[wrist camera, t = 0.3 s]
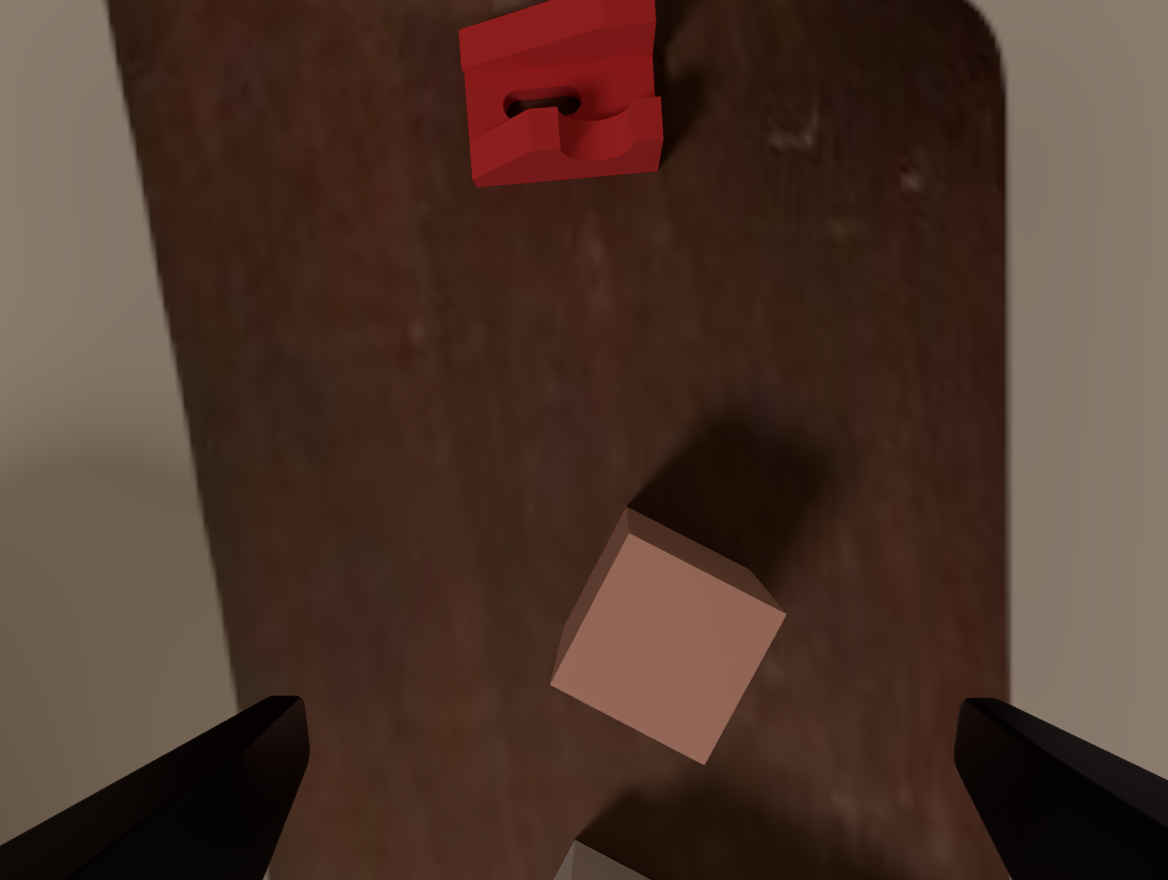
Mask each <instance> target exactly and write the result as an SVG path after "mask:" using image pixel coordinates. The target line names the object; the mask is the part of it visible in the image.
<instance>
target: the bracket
mask: <svg viewBox="0 0 1168 880" xmlns="http://www.w3.org/2000/svg"><path fill="white" fill-rule="evenodd" d="M655 27H656V14H655V0H550V1H547V2H544V3H541V4H538V5H535V6H532V7H529V8H525V9H522V10H519V11H516V12H513V13H510V14H507V15H504V16H501V17H498V18H495V19H492V20H489V21H485V22H482V23H479V24H476V25H473V26H470V27H467V28H464V29H461V30H459V38H460V51H461V64H462V71H463V73H464V75H465V87H466V100H467V112H468V125H469V138H470V151H471V164H472V177H473V181H474V183H475V184H476V186H477V187H486V186H497V185H508V184H519V183H530V182H541V181H552V180H564V179H575V178H586V177H597V176H608V175H619V174H630V173H641V172H652V171H658V167H659V161H660V156H661V150H662V144H663V124H662V108H661V96H660V97H655V89H654V73H653V58H652V56H653V46H654V36H655ZM563 96H573V97H575V98H577V99H578V100H579V101H580V102H581V106H580V108H579V109H578V110H577V111H576V112H575V113H574V114H571V115H565V116H564V115H562V114H561V113H560V112H559V110H558V108H557V107H546V108H536V109H527V110H526V111H524V112H522V113H520V114H519V115H517V116H515V117H513V118H509V117H508V116H507V110H508V108H509V106H510V105H511V104H512V103H514V102H516V101H522V100H532V99H543V98H553V97H563Z"/></svg>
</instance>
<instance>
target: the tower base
mask: <svg viewBox="0 0 1168 880" xmlns="http://www.w3.org/2000/svg"><path fill="white" fill-rule="evenodd" d="M554 880H650V879H648V878H647V877H645V876H643V875H641V874H639V873H637V872H635V871H633V870H631V869H629V868H628V867H626V866H624V865H622V864H620V863H618V862H616V861H614V860H612V859H611V858H609V857H607V856H605V855H603V854H601V853H599V852H597V851H595V850H593V849H592V848H590V847H588V846H586V845H584V844H582V843H580V842H578V841H576V840H574V842H573V844H572V846H571V848H570V850H569V852H568V853H567V855H566V857H565V859H564V861H563V863H562V865H561V866H560V868H559V870H558V872H557V874H556V876H555V878H554Z"/></svg>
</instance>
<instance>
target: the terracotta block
mask: <svg viewBox="0 0 1168 880" xmlns="http://www.w3.org/2000/svg"><path fill="white" fill-rule="evenodd" d="M786 615H787V614H786V613H785V612H784V610H783V609H782V608H781V607H780V606H779V604H778V603H777V602H776V601H775V599H774V598H773V597H772V596H771V595H770V593H769V592H768V591H767V590H766V589H765V587H764V586H763V585H762V584H761V583H760V581H759V580H758V579H757V578H756V576H755V575H754V574H753V573H752V572H751V570H749V569H747V568H745V567H743V566H741V565H739V564H738V563H736V562H734V561H732V560H730V559H728V558H726V557H724V556H722V555H720V554H718V553H716V552H714V551H712V550H710V549H708V548H706V547H704V546H702V545H701V544H699V543H697V542H695V541H693V540H691V539H689V538H687V537H685V536H683V535H681V534H679V533H677V532H675V531H673V530H671V529H669V528H667V527H665V526H663V525H662V524H660V523H658V522H656V521H654V520H652V519H650V518H648V517H646V516H644V515H642V514H640V513H638V512H636V511H634V510H632V509H630V508H628V507H626V508H625V510H624V512H623V514H622V516H621V518H620V520H619V522H618V524H617V526H616V527H615V529H614V531H613V533H612V535H611V537H610V539H609V541H608V543H607V545H606V547H605V549H604V551H603V553H602V554H601V556H600V558H599V560H598V562H597V564H596V566H595V568H594V570H593V572H592V574H591V576H590V578H589V580H588V581H587V583H586V585H585V587H584V589H583V591H582V593H581V595H580V597H579V599H578V601H577V603H576V605H575V606H574V608H573V610H572V612H571V614H570V616H569V618H568V620H567V622H566V624H565V626H564V629H563V633H562V637H561V642H560V646H559V650H558V654H557V658H556V662H555V667H554V671H553V675H552V679H551V683H550V685H552V686H554V687H556V688H557V689H559V690H561V691H563V692H565V693H567V694H569V695H571V696H573V697H575V698H577V699H578V700H580V701H582V702H584V703H586V704H588V705H590V706H592V707H594V708H596V709H598V710H600V711H601V712H603V713H605V714H607V715H609V716H611V717H613V718H615V719H617V720H619V721H621V722H623V723H624V724H626V725H628V726H630V727H632V728H634V729H636V730H638V731H640V732H642V733H644V734H646V735H647V736H649V737H651V738H653V739H655V740H657V741H659V742H661V743H663V744H665V745H667V746H668V747H670V748H672V749H674V750H676V751H678V752H680V753H682V754H684V755H686V756H688V757H690V758H691V759H693V760H695V761H697V762H699V763H701V764H703V765H705V763H706V761H707V759H708V758H709V756H710V754H711V752H712V750H713V748H714V747H715V745H716V743H717V741H718V739H719V737H720V736H721V734H722V732H723V730H724V728H725V726H726V725H727V723H728V721H729V719H730V717H731V715H732V714H733V712H734V710H735V708H736V706H737V704H738V703H739V701H740V699H741V697H742V695H743V693H744V692H745V690H746V688H747V686H748V684H749V682H750V681H751V679H752V677H753V675H754V673H755V671H756V670H757V668H758V666H759V664H760V662H761V660H762V659H763V657H764V655H765V653H766V651H767V649H768V648H769V646H770V644H771V642H772V640H773V638H774V637H775V635H776V633H777V631H778V629H779V627H780V626H781V624H782V622H783V620H784V618H785V616H786Z"/></svg>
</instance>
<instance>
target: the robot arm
mask: <svg viewBox="0 0 1168 880" xmlns="http://www.w3.org/2000/svg"><path fill="white" fill-rule="evenodd" d="M309 754H310V745H309V737H308V728H307V719H306V710H305V704H304V702H303V699H301V698H300V697H299V696H270V697H267V698H266V699H264V700H262V701H260V702H258V703H257V704H255V705H253V706H251V707H249V708H248V709H246V710H244V711H242V712H240V713H239V714H237V715H235V716H233V717H231V718H229V719H228V720H226V721H224V722H222V723H220V724H219V725H217V726H215V727H213V728H212V729H210V730H208V731H206V732H204V733H202V734H201V735H199V736H197V737H195V738H193V739H192V740H190V741H188V742H186V743H185V744H183V745H181V746H179V747H177V748H176V749H174V750H172V751H170V752H168V753H167V754H165V755H163V756H161V757H159V758H157V759H156V760H154V761H152V762H150V763H149V764H147V765H145V766H143V767H141V768H139V769H138V770H136V771H134V772H132V773H130V774H129V775H127V776H125V777H123V778H121V779H120V780H118V781H116V782H114V783H112V784H110V785H109V786H107V787H105V788H103V789H102V790H100V791H98V792H96V793H94V794H92V795H91V796H89V797H87V798H85V799H83V800H82V801H80V802H78V803H76V804H75V805H73V806H71V807H69V808H67V809H65V810H64V811H62V812H60V813H58V814H56V815H55V816H53V817H51V818H49V819H47V820H46V821H44V822H42V823H40V824H38V825H37V826H35V827H33V828H31V829H29V830H28V831H26V832H24V833H22V834H20V835H19V836H17V837H15V838H13V839H11V840H10V841H8V842H6V843H4V844H2V845H1V846H0V880H263V878H264V875H265V873H266V871H267V868H268V866H269V863H270V861H271V858H272V856H273V853H274V851H275V848H276V846H277V843H278V840H279V838H280V835H281V833H282V830H283V827H284V825H285V822H286V820H287V817H288V814H289V812H290V809H291V807H292V804H293V802H294V799H295V796H296V794H297V791H298V789H299V786H300V783H301V781H302V778H303V776H304V773H305V771H306V768H307V765H308V761H309ZM954 761H955V765H956V768H957V770H958V773H959V775H960V777H961V779H962V781H963V783H964V785H965V787H966V789H967V791H968V793H969V795H970V797H971V799H972V801H973V803H974V805H975V807H976V809H977V811H978V813H979V815H980V817H981V819H982V821H983V823H984V825H985V827H986V829H987V831H988V833H989V835H990V837H991V839H992V841H993V843H994V845H995V847H996V849H997V851H998V853H999V855H1000V857H1001V859H1002V861H1003V863H1004V865H1005V867H1006V869H1007V871H1008V873H1009V875H1010V877H1011V878H1012V880H1168V780H1166V779H1164V778H1162V777H1160V776H1158V775H1156V774H1154V773H1152V772H1149V771H1147V770H1145V769H1143V768H1141V767H1139V766H1137V765H1135V764H1133V763H1131V762H1129V761H1127V760H1125V759H1122V758H1120V757H1118V756H1116V755H1114V754H1112V753H1110V752H1108V751H1106V750H1104V749H1101V748H1099V747H1097V746H1095V745H1093V744H1091V743H1089V742H1087V741H1085V740H1083V739H1081V738H1079V737H1076V736H1074V735H1072V734H1070V733H1068V732H1066V731H1064V730H1062V729H1060V728H1058V727H1056V726H1054V725H1052V724H1049V723H1047V722H1045V721H1043V720H1041V719H1039V718H1037V717H1035V716H1033V715H1030V714H1028V713H1026V712H1024V711H1022V710H1020V709H1018V708H1016V707H1014V706H1012V705H1010V704H1008V703H1006V702H1004V701H1001V700H999V699H996V698H967V699H965V700H964V701H962V703H961V705H960V709H959V715H958V722H957V728H956V735H955V742H954Z"/></svg>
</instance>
